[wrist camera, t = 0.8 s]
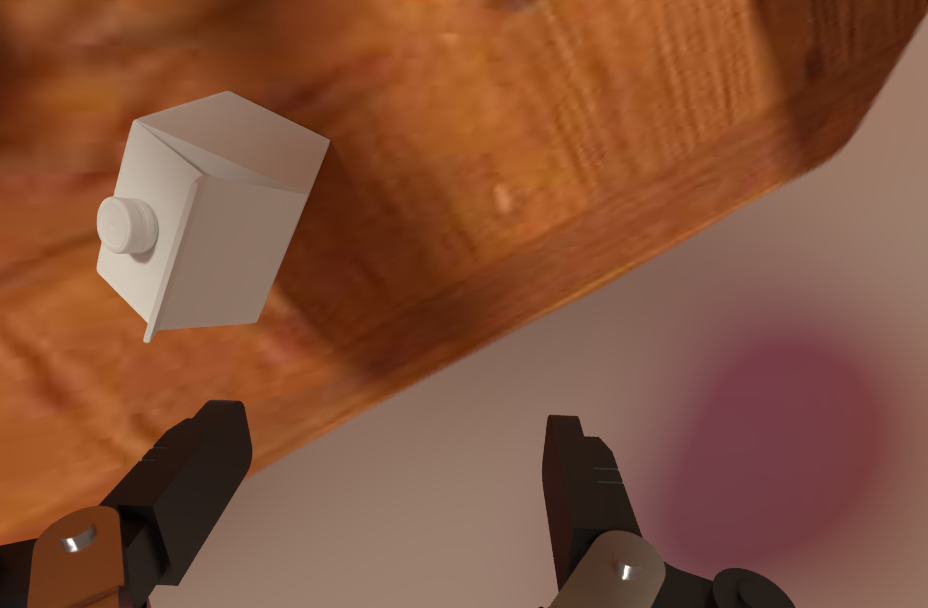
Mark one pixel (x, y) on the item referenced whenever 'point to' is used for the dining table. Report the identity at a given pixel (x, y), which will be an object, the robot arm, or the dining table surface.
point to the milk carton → (205, 211)
